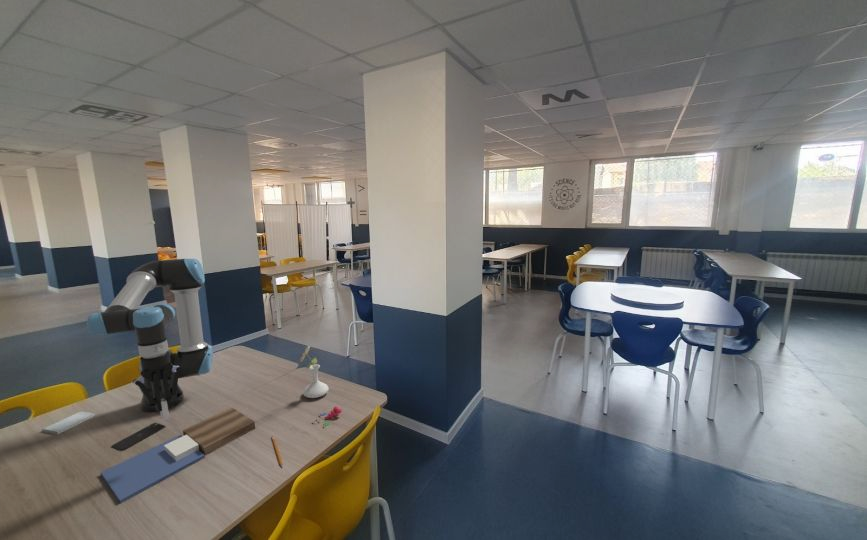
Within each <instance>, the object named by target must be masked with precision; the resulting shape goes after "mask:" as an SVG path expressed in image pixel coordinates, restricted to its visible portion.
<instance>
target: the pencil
mask: <svg viewBox="0 0 867 540" xmlns="http://www.w3.org/2000/svg"><path fill="white" fill-rule="evenodd" d="M271 440H272V444H273V447H274V451H275V454H276V457H277V461H278V464H279V466H280V467H281V468H283V465H284V463H283V461H282V457H281V453H280V450H279V448H278V444H277V441H276V438H275V435H272V436H271Z"/></svg>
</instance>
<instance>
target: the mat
mask: <svg viewBox="0 0 867 540" xmlns="http://www.w3.org/2000/svg"><path fill="white" fill-rule="evenodd" d="M182 436H183V435H182V434H179V435H177V436H175V437H173V438H171V439H168V440H166V441H164V442H162V443H160V444H158V445H156V446H153V447H151V448H149V449H148V450H145V451H143V452H140V453H139V454H136V455H135V456H132V457H130V458H128V459H125V460H124V461H122V462H119V463H118V464H117V463H116V465H112V466H111V467H108V468H107V469H105V470H102V471H101V472H100V474H101V476H102V478H103V479H104V481H105V483H107V485H108V487H109V488H110V489H111V491H112V493H113V494H114V495H115V496H116V497H115V498H116V499H117V500H118V501H119V503H120V504H122V503H124V502H126V501H127V500H129V499H130V500H131V499H132V498H134V497H135V496H137V495H139V494H140V493H143V492H144V491H146V490H148V489H150V488H151V487H154V486H155V485H157V484H159V483H161V482H162V481H165V480H166V479H168V478H170V477H171V476H173V475H176V474H178V473H179V472H181V471H183V470H184V469H187V468H189V467H190V466H192V465H193V464H195V463H198V462H199V461H202V460H204V459H205V458H206V455H204V454H203V453H202V452H201V451H199V450H197V451H195V452H193V453H191V454H190V455H188V456H186V457H184V458H182V459H180V460H178V461H175V460H174V459H173V458H172V457H171V456H170V455H169V454H168V453H167V452H166V451H165V449H164V445H166V444H168V443H170V442H172V441H174V440H176V439H178V438H180V437H182Z"/></svg>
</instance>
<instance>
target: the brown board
mask: <svg viewBox="0 0 867 540" xmlns="http://www.w3.org/2000/svg"><path fill="white" fill-rule="evenodd" d="M255 422H256V421H255V420H253V419H251V418H250V417H249V416H246V415H245V414H243V413H241V411H238V410H237V409H235V408H234V407H229V408H227V409H225V410H223V411H221V412H218V413H217V414H215V415H213V416H210V417H208V418H206V419H204V420H201V421H200V422H197V423H196V424H193V425H191V426H189V427H187V428H184V429H183V430H182V434H183V435H182V436H184V435H188V436H189V437H190V438H191V439H193V440H194V441H195V442H196V443H197V444H199V451H201V452H202V453H203V454H204V455H205V456H207V455H209V454H211V453H212V452H214V451H216V450H218V449H220V448H222V447H224V446H226V445H227V444H229V443H231V442H233V441H235V440H237V439H238V438H240V437H242V436H245V434H248V433H250V432H251V431H253V430H255V429H256V423H255Z"/></svg>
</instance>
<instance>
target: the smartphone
mask: <svg viewBox="0 0 867 540" xmlns="http://www.w3.org/2000/svg"><path fill="white" fill-rule="evenodd" d="M166 427H167V426H166V425H164V424H160V423H158V422H153V423H151V424H149V425H147V426H145V427H144V428H141V429H140V430H138V431H136V432H134V433H132V434H131V435H129V436H126V437H124V438H123V439H121V440H119V441H117V442H115V443H114V444H112V445H111V448H112V449H115V450H118V451H120V452H123V451H124V452H125V451H126V450H129V449H130V448H132V447H133V446H135V445H137V444H138V443H141V442H143V441H144V440H145V439H148V438H149V437H151V436H153V435H155V434H157V433H158V432H161V431H162V430H164V429H165V428H166Z"/></svg>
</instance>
